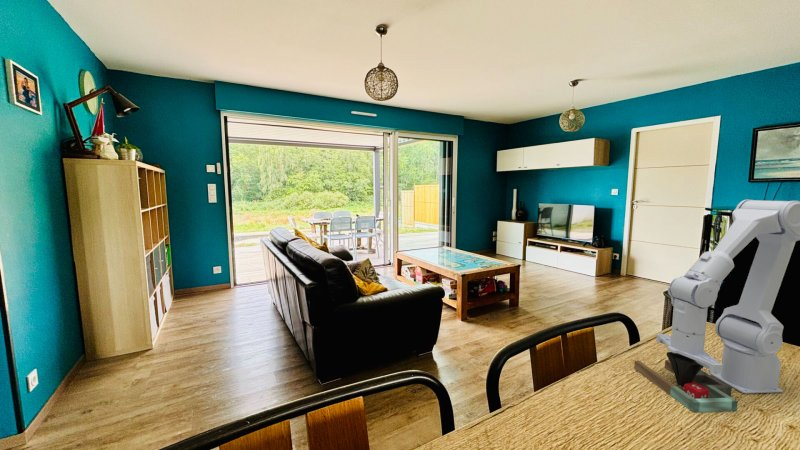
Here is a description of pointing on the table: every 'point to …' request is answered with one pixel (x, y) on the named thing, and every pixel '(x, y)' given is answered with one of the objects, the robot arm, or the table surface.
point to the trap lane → (715, 403)
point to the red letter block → (696, 390)
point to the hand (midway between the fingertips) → (683, 385)
